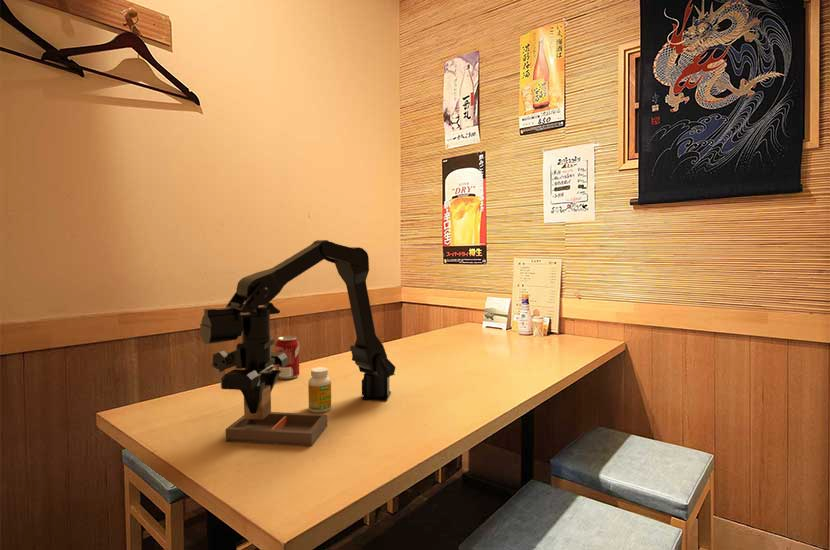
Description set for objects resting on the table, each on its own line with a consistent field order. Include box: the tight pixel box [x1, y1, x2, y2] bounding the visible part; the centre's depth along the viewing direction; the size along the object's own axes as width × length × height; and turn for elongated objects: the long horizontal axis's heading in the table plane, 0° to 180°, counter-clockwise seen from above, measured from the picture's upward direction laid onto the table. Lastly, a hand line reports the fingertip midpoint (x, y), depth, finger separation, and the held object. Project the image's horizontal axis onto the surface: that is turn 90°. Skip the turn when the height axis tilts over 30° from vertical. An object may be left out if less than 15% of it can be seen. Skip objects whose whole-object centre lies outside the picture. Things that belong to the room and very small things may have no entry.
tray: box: [225, 411, 328, 447], centre depth 95 cm, size 18×10×3 cm, turn 83°
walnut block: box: [243, 385, 272, 420], centre depth 95 cm, size 4×4×6 cm
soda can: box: [274, 335, 300, 381], centre depth 135 cm, size 7×7×12 cm
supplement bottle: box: [307, 366, 332, 413], centre depth 109 cm, size 5×5×10 cm
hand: (258, 409), depth 95 cm, fingers closed on walnut block, 4 cm apart
